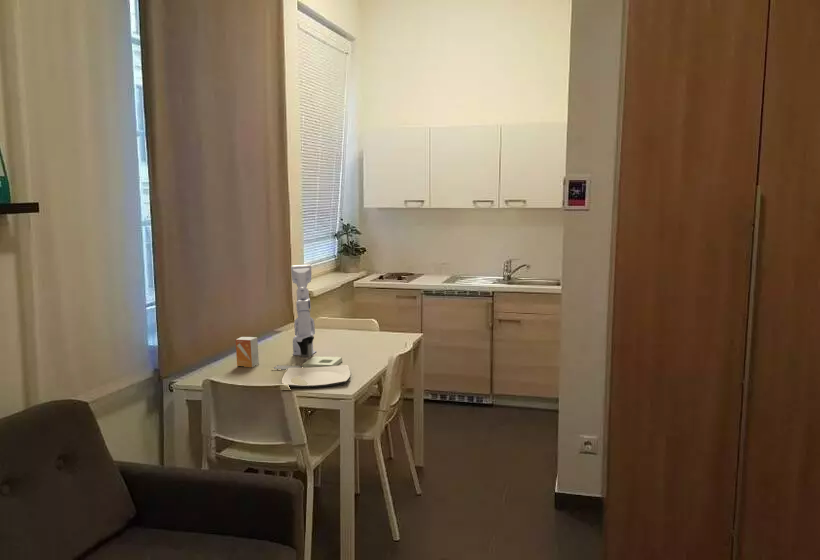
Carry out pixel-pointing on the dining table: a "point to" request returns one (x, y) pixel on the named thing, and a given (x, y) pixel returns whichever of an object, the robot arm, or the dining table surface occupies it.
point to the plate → (318, 376)
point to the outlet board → (322, 362)
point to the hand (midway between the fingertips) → (306, 353)
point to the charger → (309, 351)
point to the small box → (247, 351)
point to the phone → (286, 367)
